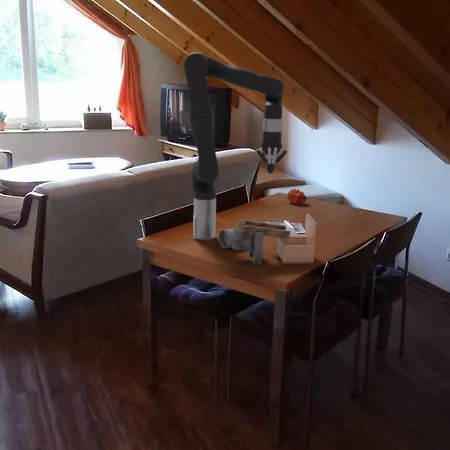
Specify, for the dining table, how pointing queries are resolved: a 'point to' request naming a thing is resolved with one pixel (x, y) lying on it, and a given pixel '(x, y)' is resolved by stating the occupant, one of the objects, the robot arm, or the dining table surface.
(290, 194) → the dragon fruit
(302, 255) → the cup
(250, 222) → the lever board
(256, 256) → the pivot stand
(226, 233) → the ceramic mug
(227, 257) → the dining table surface
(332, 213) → the dining table surface
